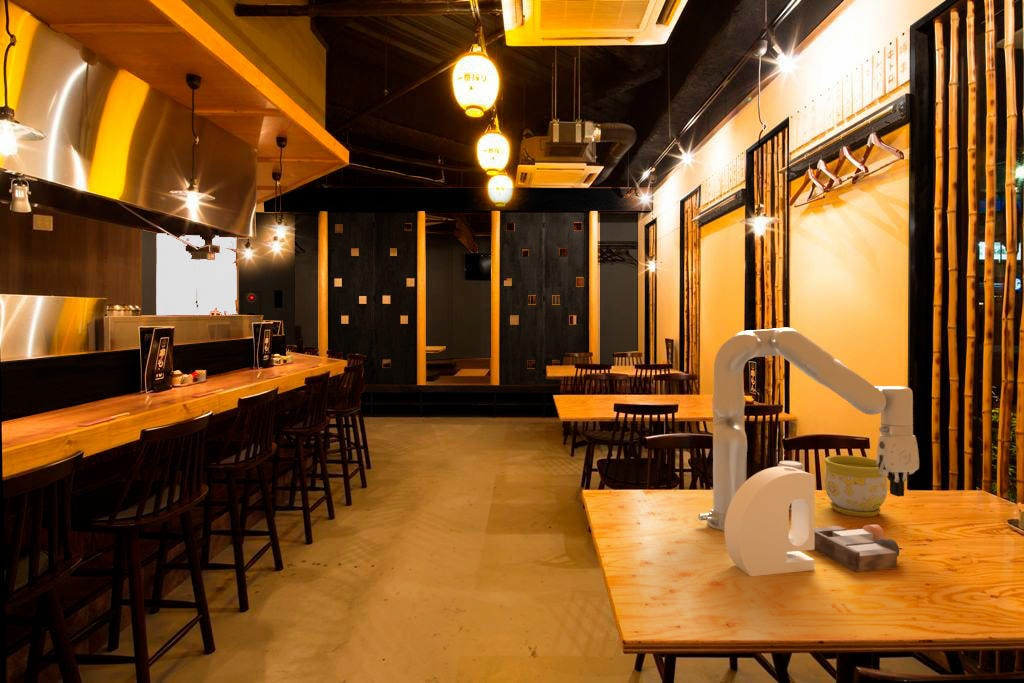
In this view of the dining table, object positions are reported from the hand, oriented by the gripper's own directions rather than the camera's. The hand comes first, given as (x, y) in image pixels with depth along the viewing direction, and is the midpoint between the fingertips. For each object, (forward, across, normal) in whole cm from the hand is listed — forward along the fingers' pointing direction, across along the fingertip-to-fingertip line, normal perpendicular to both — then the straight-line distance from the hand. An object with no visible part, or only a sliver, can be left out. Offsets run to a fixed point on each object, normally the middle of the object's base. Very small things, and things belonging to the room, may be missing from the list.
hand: (896, 494), depth 166 cm
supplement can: (+13, -8, +34) cm, 38 cm away
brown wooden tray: (+13, -20, -5) cm, 25 cm away
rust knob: (+13, -13, 0) cm, 18 cm away
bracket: (+13, -46, -8) cm, 48 cm away
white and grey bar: (+13, -18, -10) cm, 24 cm away
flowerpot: (+14, +10, +26) cm, 31 cm away
